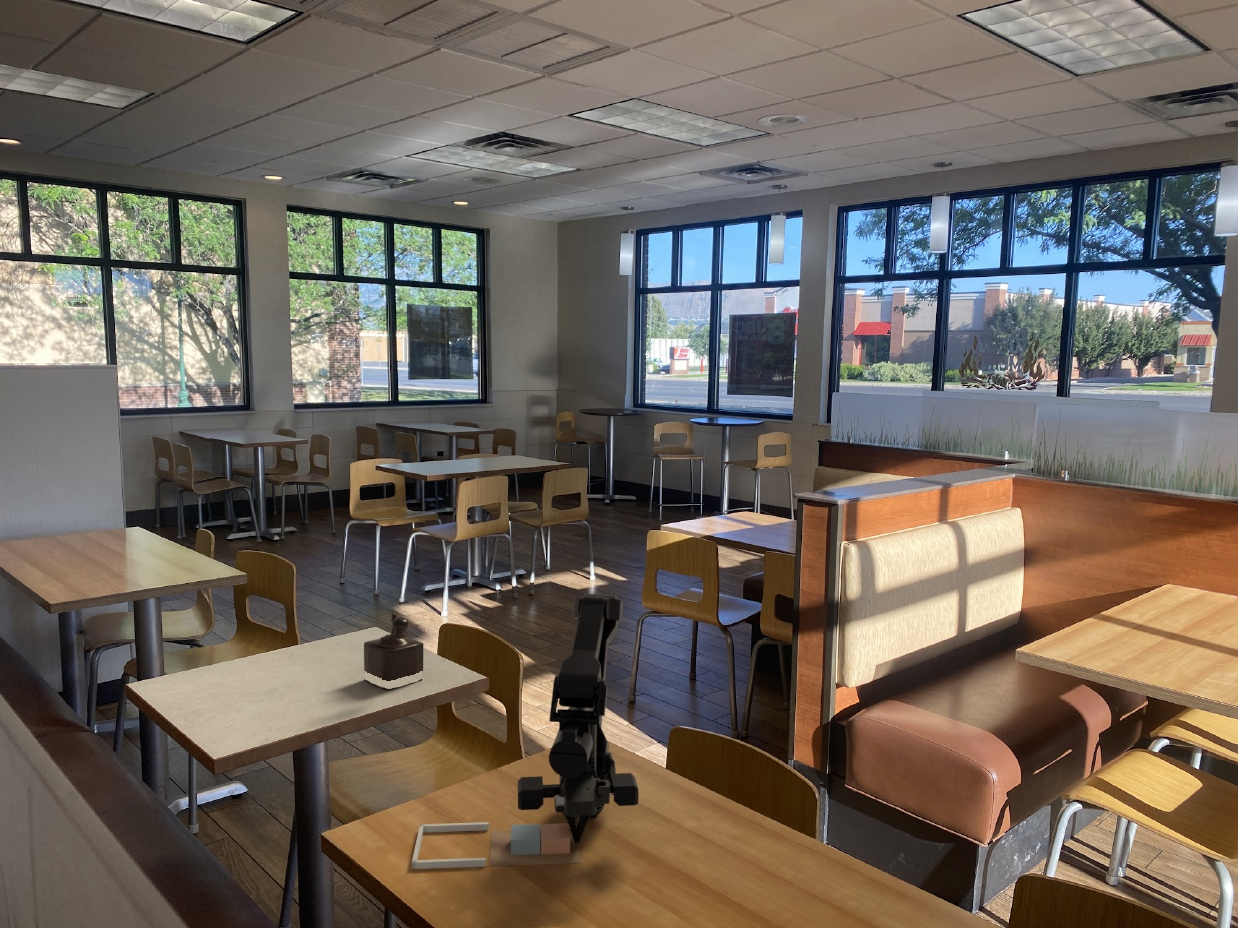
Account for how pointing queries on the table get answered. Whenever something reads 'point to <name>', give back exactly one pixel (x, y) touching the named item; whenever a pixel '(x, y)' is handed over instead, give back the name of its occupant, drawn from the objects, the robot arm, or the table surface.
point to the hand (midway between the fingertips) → (576, 841)
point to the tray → (447, 862)
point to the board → (503, 857)
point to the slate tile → (525, 839)
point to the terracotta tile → (554, 838)
